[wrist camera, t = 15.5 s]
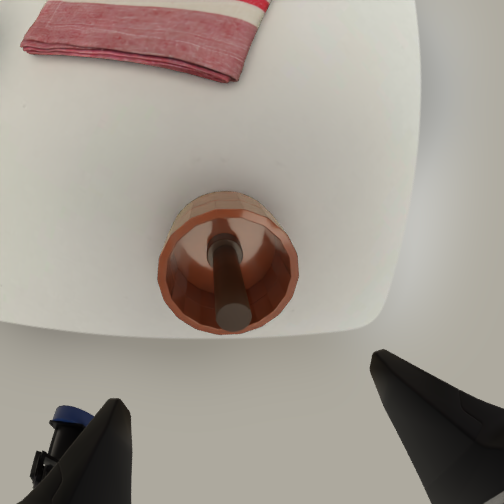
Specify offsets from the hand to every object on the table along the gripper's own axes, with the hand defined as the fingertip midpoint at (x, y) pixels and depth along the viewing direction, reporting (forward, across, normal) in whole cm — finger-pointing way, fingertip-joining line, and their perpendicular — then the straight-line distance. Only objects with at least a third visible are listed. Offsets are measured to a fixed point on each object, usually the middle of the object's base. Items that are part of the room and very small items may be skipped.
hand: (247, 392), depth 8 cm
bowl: (+13, 0, 0) cm, 13 cm away
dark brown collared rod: (+12, 0, 0) cm, 12 cm away
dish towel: (+13, 0, -25) cm, 28 cm away
